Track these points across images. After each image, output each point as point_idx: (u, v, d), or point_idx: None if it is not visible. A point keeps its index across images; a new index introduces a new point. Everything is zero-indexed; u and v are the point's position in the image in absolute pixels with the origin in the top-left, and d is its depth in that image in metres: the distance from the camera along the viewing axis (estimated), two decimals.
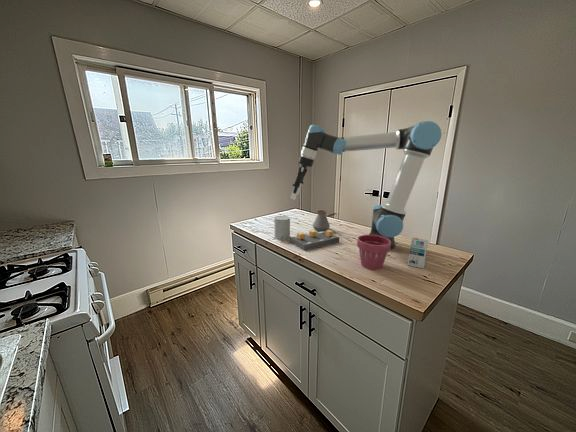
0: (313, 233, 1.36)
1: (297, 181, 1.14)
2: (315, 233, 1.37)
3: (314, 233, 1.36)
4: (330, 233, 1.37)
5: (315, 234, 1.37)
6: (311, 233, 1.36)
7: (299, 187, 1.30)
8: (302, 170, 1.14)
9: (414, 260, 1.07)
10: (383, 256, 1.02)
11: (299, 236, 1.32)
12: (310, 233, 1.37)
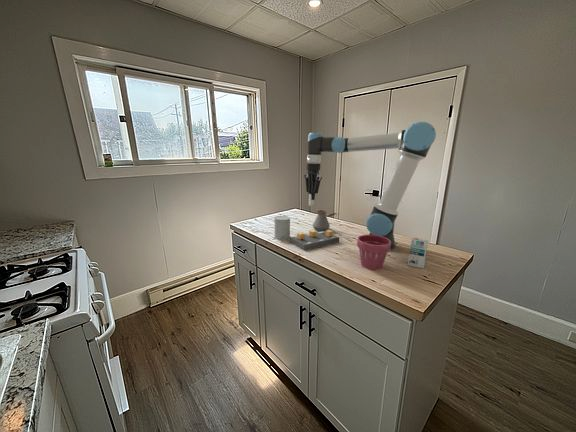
0: (313, 233, 1.36)
1: (316, 190, 1.29)
2: (315, 233, 1.37)
3: (314, 233, 1.36)
4: (330, 233, 1.37)
5: (315, 234, 1.37)
6: (311, 233, 1.36)
7: None
8: (319, 179, 1.27)
9: (414, 260, 1.07)
10: (383, 256, 1.02)
11: (299, 236, 1.32)
12: (310, 233, 1.37)
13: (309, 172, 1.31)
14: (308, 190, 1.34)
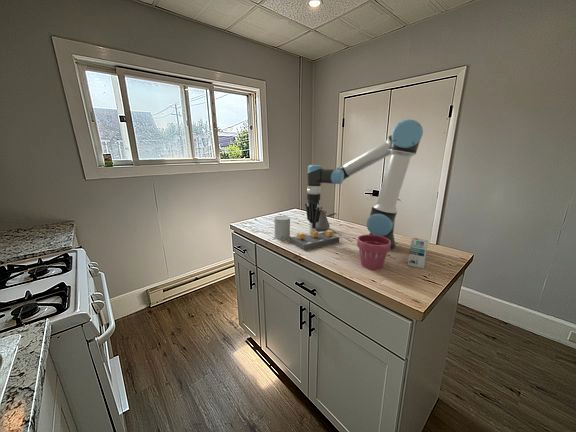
0: (315, 234, 1.35)
1: (316, 219, 1.33)
2: (317, 234, 1.36)
3: (316, 234, 1.35)
4: (330, 233, 1.37)
5: (317, 235, 1.36)
6: (313, 234, 1.35)
7: None
8: (319, 209, 1.30)
9: (414, 260, 1.07)
10: (383, 256, 1.02)
11: (299, 236, 1.32)
12: (312, 234, 1.36)
13: (309, 202, 1.35)
14: (309, 219, 1.37)
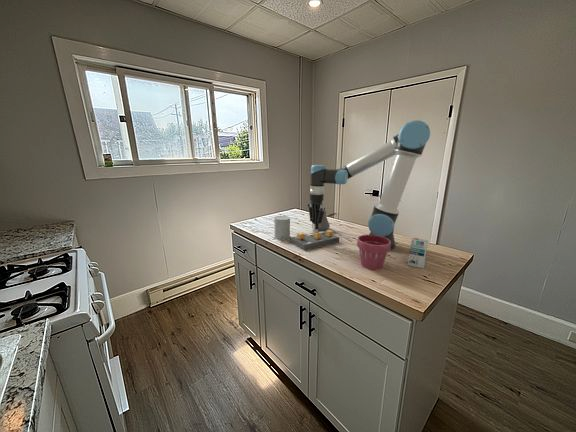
0: (318, 235, 1.32)
1: (319, 220, 1.30)
2: (320, 235, 1.33)
3: (319, 235, 1.33)
4: (330, 233, 1.37)
5: (320, 236, 1.33)
6: (316, 235, 1.33)
7: None
8: (323, 210, 1.28)
9: (414, 260, 1.07)
10: (383, 256, 1.02)
11: (299, 236, 1.32)
12: (314, 235, 1.34)
13: (312, 202, 1.32)
14: (312, 220, 1.35)
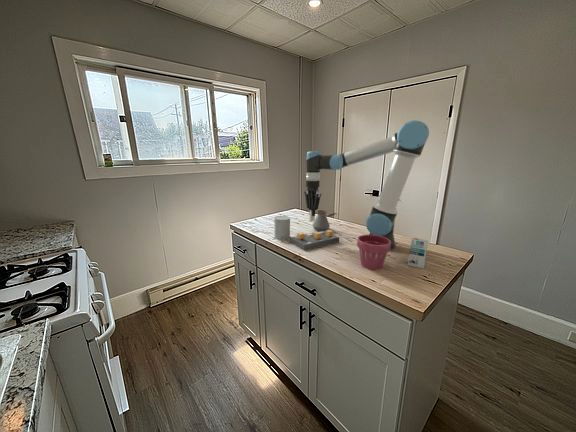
0: (318, 235, 1.32)
1: (316, 206, 1.32)
2: (320, 235, 1.33)
3: (319, 235, 1.33)
4: (330, 233, 1.37)
5: (320, 236, 1.33)
6: (316, 235, 1.33)
7: None
8: (319, 196, 1.29)
9: (414, 260, 1.07)
10: (383, 256, 1.02)
11: (299, 236, 1.32)
12: (314, 235, 1.34)
13: (309, 189, 1.34)
14: (308, 206, 1.36)
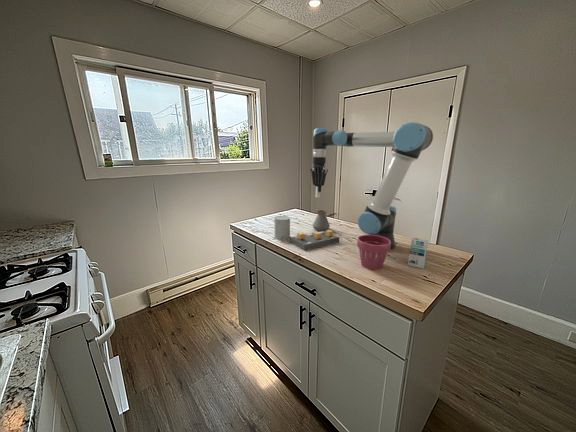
0: (318, 235, 1.32)
1: (322, 182, 1.37)
2: (320, 235, 1.33)
3: (319, 235, 1.33)
4: (330, 233, 1.37)
5: (320, 236, 1.33)
6: (316, 235, 1.33)
7: None
8: (325, 172, 1.34)
9: (414, 260, 1.07)
10: (383, 256, 1.02)
11: (299, 236, 1.32)
12: (314, 235, 1.34)
13: (315, 166, 1.39)
14: (314, 183, 1.41)
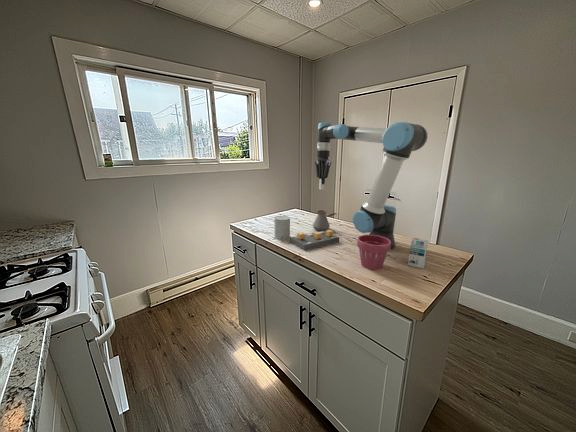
0: (318, 235, 1.32)
1: (326, 174, 1.42)
2: (320, 235, 1.33)
3: (319, 235, 1.33)
4: (330, 233, 1.37)
5: (320, 236, 1.33)
6: (316, 235, 1.33)
7: None
8: (329, 165, 1.40)
9: (414, 260, 1.07)
10: (383, 256, 1.02)
11: (299, 236, 1.32)
12: (314, 235, 1.34)
13: (319, 159, 1.44)
14: (318, 175, 1.47)
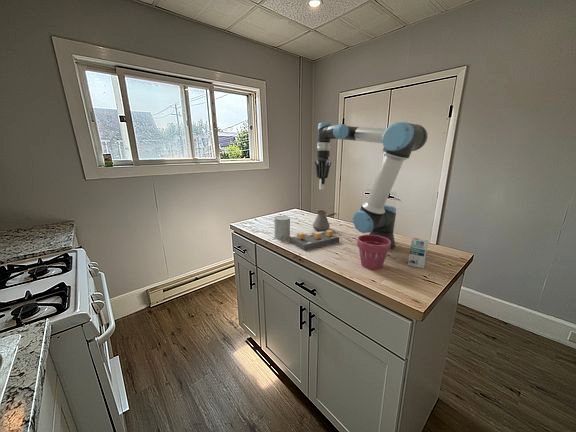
0: (318, 235, 1.32)
1: (326, 174, 1.42)
2: (320, 235, 1.33)
3: (319, 235, 1.33)
4: (330, 233, 1.37)
5: (320, 236, 1.33)
6: (316, 235, 1.33)
7: None
8: (329, 165, 1.40)
9: (414, 260, 1.07)
10: (383, 256, 1.02)
11: (299, 236, 1.32)
12: (314, 235, 1.34)
13: (319, 159, 1.44)
14: (318, 175, 1.47)
